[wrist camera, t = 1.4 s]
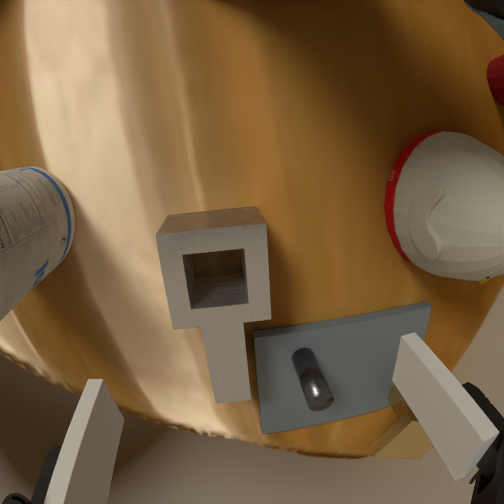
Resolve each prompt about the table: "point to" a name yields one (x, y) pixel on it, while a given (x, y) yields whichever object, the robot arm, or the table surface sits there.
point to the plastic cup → (497, 78)
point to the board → (333, 365)
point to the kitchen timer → (448, 206)
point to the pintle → (312, 380)
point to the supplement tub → (31, 231)
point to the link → (218, 288)
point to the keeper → (402, 433)
